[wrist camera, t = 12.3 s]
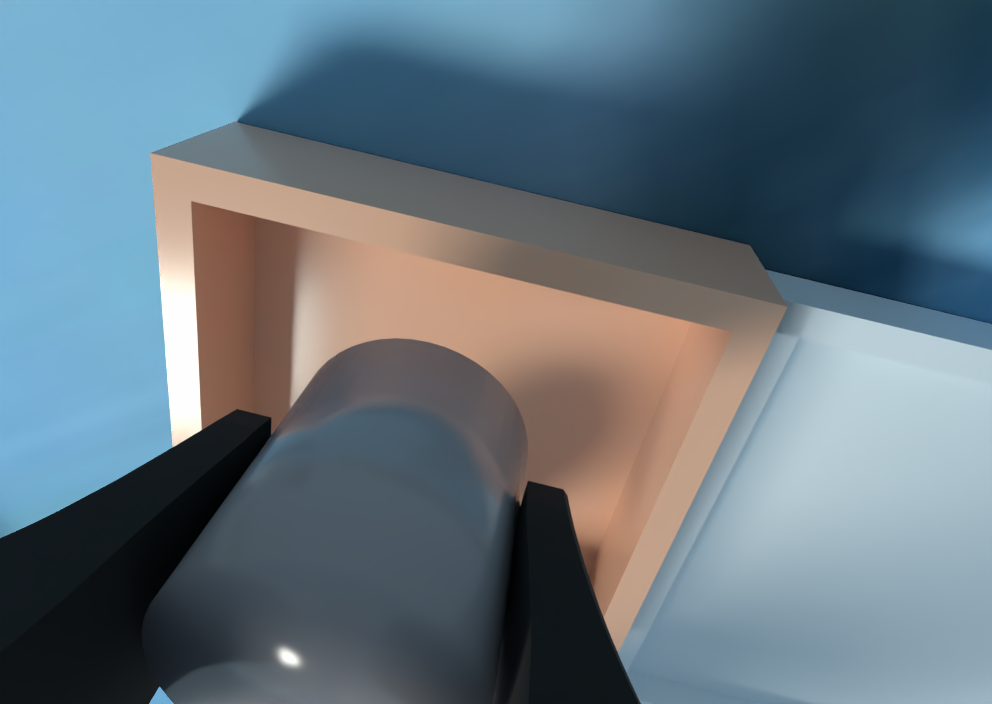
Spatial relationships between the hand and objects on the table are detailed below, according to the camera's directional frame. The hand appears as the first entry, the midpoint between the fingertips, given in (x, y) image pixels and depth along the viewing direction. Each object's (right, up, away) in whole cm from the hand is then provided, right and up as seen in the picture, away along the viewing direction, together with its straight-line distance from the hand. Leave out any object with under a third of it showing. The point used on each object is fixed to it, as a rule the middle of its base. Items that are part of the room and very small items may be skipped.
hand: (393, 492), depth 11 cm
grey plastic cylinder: (0, +1, +1) cm, 1 cm away
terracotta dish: (0, +1, +8) cm, 8 cm away
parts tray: (+14, -4, +9) cm, 17 cm away
